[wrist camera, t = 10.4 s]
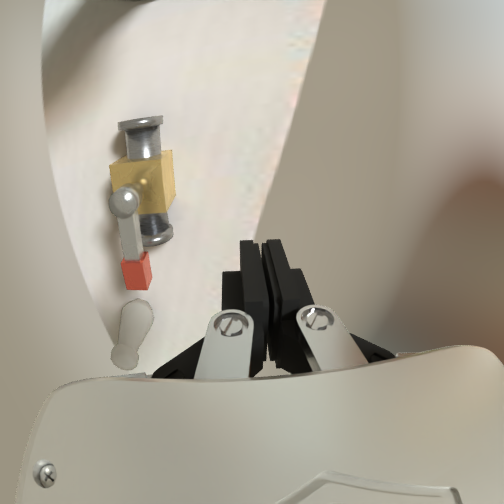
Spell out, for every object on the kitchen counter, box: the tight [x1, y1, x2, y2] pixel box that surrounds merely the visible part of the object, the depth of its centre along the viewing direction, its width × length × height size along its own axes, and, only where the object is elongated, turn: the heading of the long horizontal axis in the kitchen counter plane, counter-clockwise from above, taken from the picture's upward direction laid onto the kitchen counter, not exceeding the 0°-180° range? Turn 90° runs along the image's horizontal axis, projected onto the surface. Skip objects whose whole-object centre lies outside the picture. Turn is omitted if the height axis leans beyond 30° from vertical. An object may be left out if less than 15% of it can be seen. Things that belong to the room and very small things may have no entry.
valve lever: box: [109, 183, 152, 290], centre depth 29 cm, size 12×3×3 cm, turn 178°
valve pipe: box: [109, 116, 176, 247], centre depth 32 cm, size 16×6×9 cm, turn 0°
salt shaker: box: [111, 298, 154, 370], centre depth 41 cm, size 6×6×13 cm
